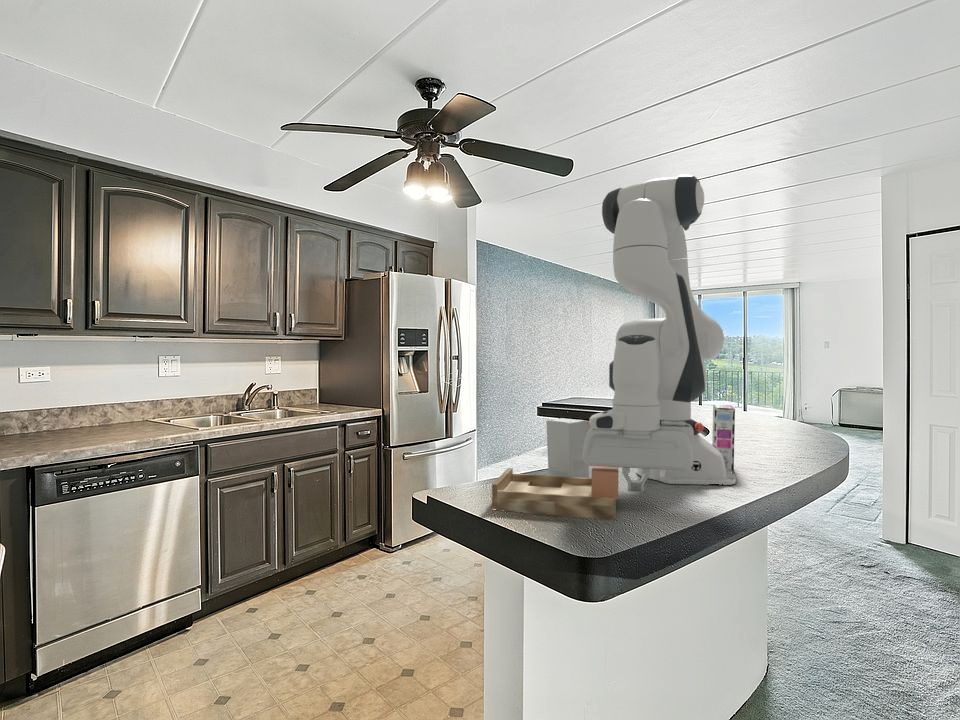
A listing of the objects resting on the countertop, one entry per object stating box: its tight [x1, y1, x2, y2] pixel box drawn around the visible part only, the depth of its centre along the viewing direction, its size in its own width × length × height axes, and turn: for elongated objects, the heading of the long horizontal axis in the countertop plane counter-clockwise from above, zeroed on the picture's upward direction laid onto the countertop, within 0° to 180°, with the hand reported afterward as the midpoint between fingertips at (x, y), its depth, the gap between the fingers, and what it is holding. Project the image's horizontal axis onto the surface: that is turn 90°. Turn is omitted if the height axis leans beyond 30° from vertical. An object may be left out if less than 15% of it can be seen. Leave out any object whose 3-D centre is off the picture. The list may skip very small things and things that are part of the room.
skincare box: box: [545, 417, 590, 478], centre depth 121 cm, size 8×6×15 cm
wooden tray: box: [491, 467, 617, 521], centre depth 104 cm, size 23×15×5 cm, turn 75°
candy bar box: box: [711, 404, 736, 474], centre depth 136 cm, size 11×5×16 cm, turn 158°
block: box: [591, 466, 619, 500], centre depth 102 cm, size 5×5×5 cm
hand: (635, 490), depth 100 cm, fingers closed
